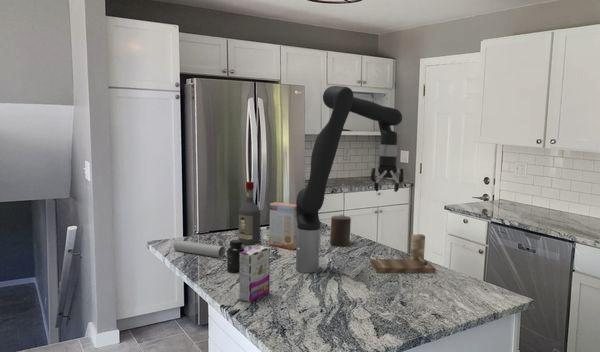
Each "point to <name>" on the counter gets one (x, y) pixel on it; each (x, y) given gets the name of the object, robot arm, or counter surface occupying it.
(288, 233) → the cracker box
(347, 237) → the pillar candle
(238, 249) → the supplement bottle
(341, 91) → the robot arm
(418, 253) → the marking gauge
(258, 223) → the liquor
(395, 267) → the walnut board
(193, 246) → the tube
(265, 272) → the candy bar box
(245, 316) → the counter surface
